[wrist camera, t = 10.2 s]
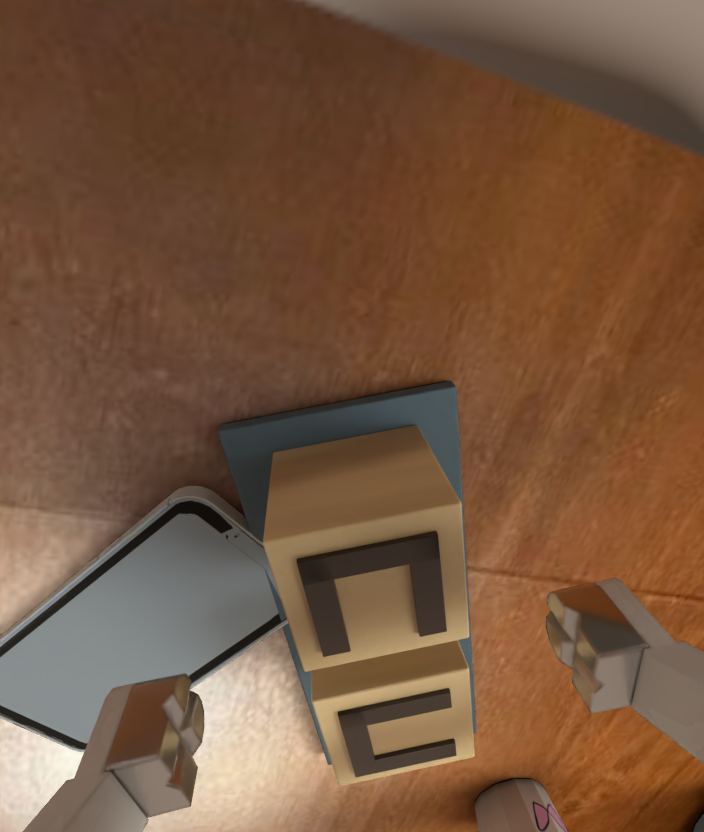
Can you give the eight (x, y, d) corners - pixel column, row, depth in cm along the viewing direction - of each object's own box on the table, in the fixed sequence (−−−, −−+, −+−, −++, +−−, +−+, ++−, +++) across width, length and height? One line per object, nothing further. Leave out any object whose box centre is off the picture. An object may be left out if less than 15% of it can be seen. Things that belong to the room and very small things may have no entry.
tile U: (308, 588, 17) (311, 707, 13) (430, 564, 17) (471, 673, 13) (330, 668, 19) (339, 792, 15) (439, 645, 20) (477, 762, 15)
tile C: (272, 451, 15) (261, 546, 10) (417, 423, 15) (464, 506, 11) (303, 562, 17) (303, 678, 13) (429, 537, 17) (472, 643, 13)
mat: (220, 424, 15) (216, 432, 14) (451, 380, 15) (456, 386, 14) (327, 753, 23) (328, 765, 23) (472, 721, 23) (477, 733, 23)
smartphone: (-63, 690, 18) (188, 484, 15) (-46, 668, 19) (195, 469, 16) (90, 758, 21) (329, 596, 18) (99, 736, 22) (328, 578, 18)
